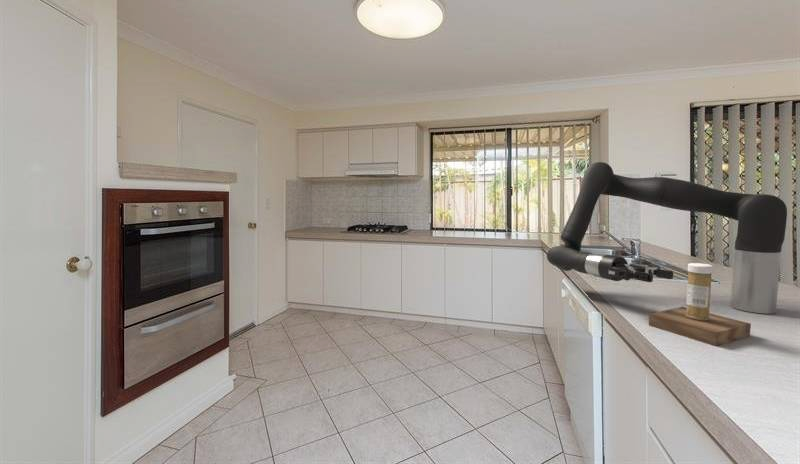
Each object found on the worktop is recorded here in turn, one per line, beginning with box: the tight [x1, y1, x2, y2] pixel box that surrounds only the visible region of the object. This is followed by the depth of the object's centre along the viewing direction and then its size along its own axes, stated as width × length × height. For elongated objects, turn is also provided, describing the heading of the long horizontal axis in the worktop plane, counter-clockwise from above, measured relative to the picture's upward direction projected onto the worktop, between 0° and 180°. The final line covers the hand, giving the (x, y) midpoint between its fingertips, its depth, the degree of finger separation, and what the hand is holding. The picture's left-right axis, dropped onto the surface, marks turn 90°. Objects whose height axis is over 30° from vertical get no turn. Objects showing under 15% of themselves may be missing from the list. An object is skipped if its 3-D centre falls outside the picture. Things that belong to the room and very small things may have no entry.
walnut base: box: [648, 306, 752, 347], centre depth 84 cm, size 14×14×3 cm
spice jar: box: [685, 262, 714, 321], centre depth 83 cm, size 5×5×14 cm
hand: (662, 276), depth 91 cm, fingers open, 8 cm apart
